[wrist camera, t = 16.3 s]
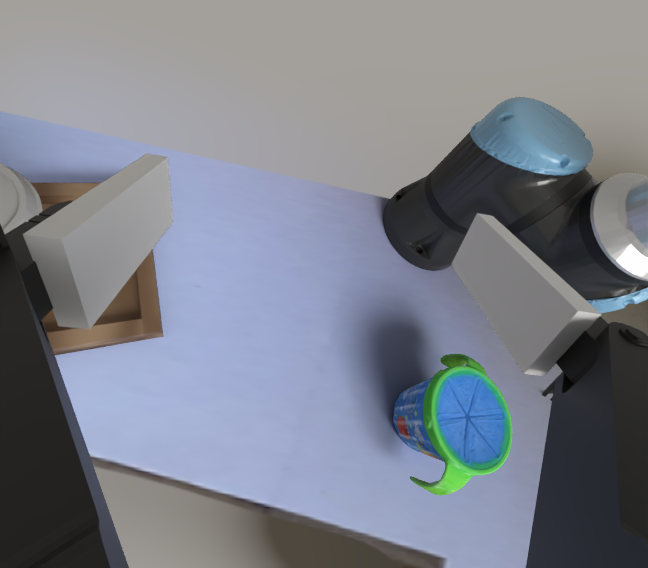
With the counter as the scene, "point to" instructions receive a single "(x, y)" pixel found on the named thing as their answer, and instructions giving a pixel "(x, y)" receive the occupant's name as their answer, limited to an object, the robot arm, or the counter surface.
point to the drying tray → (125, 309)
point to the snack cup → (456, 422)
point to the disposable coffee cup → (16, 199)
